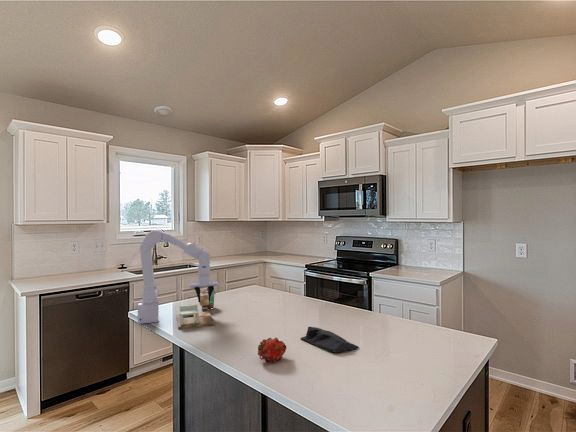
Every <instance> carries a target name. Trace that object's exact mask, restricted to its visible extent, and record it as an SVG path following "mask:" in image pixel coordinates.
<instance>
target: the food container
mask: <svg viewBox="0 0 576 432" xmlns="http://www.w3.org/2000/svg"><path fill="white" fill-rule="evenodd" d="M215 289H216V288H214V290H213V292H212V294H211V297H210V302H209V305H204V306H201V311H202V310H204V311H208V310H207V309H211V308H213V307H214V305H215V295H216V290H215ZM206 293H208V287H206V290H204V291H202V292H201V291H200V294H206ZM213 309H214V308H213ZM211 310H212V309H211Z"/></svg>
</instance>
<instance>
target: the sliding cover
mask: <svg viewBox="0 0 576 432" xmlns="http://www.w3.org/2000/svg"><path fill="white" fill-rule="evenodd" d="M198 306H199V305H198V303H197V304H196V303H195V304H189V305H179V314H180V324H181V325H183V319H184V317H183V315H192V314H195V320H196V323H199V312H200V311H199V309H198Z"/></svg>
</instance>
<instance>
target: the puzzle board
mask: <svg viewBox="0 0 576 432" xmlns="http://www.w3.org/2000/svg"><path fill="white" fill-rule="evenodd" d="M176 321H177V329H178V330H185V329H192V328H193V329H194V328H200V327H201V328H202V327H208V326H209V327H210V326H215V325H216V322H215V321H214V319H213V317H212V315H211V313H210V312H209V311H199V323H196V320H195V314H192V315H183V325H181V324H180V313H178V314H176Z"/></svg>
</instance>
